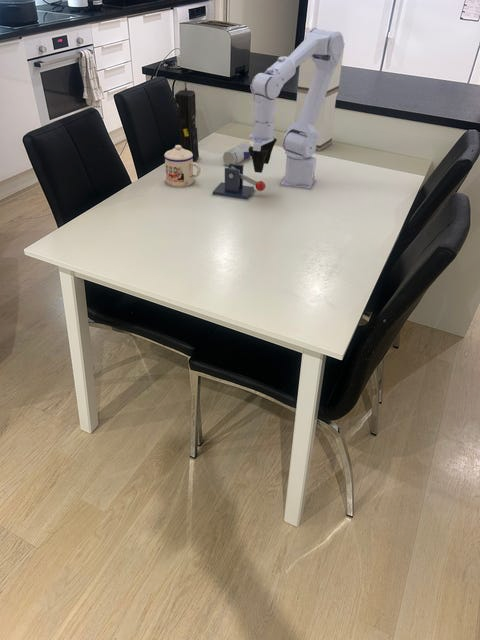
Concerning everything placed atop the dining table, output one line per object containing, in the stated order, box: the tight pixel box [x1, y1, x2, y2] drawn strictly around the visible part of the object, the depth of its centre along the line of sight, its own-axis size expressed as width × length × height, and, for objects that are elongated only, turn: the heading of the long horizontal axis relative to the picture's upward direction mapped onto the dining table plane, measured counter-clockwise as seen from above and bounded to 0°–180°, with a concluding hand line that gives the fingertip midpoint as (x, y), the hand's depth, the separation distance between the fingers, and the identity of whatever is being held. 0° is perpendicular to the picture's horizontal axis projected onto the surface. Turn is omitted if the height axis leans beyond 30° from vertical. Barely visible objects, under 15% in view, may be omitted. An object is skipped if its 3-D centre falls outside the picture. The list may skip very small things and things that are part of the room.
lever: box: [231, 166, 266, 192], centre depth 154 cm, size 12×3×3 cm, turn 74°
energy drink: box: [222, 142, 253, 167], centre depth 178 cm, size 5×5×12 cm
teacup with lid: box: [163, 144, 201, 187], centre depth 160 cm, size 12×9×12 cm
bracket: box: [212, 163, 255, 200], centre depth 156 cm, size 11×8×8 cm
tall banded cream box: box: [294, 42, 345, 152], centre depth 186 cm, size 11×11×35 cm
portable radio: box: [174, 82, 200, 163], centre depth 172 cm, size 8×6×25 cm
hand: (261, 167), depth 151 cm, fingers open, 7 cm apart
